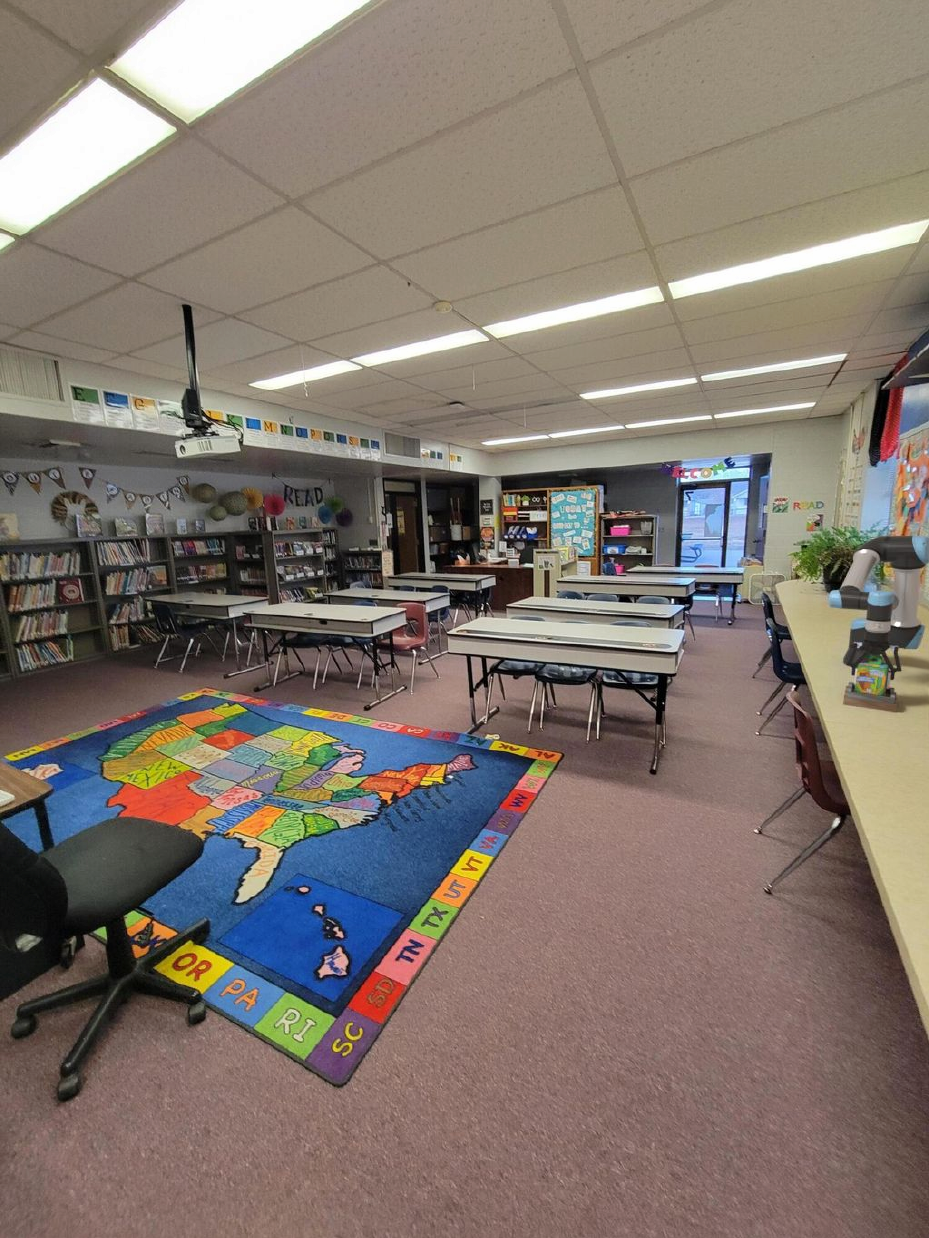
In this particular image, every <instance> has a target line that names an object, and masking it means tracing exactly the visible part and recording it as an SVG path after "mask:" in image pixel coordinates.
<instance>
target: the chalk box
mask: <svg viewBox="0 0 929 1238" xmlns="http://www.w3.org/2000/svg"><path fill="white" fill-rule="evenodd" d="M872 658H876V659H878V661H877V662H876V661H871V659H872ZM883 660H884V658H883V657H882V655H881V656H877V655H867V660H862V661H861V662H860V663H859V665H858V669H857V677H856V684H855V692H859V693H865V694H871V695H877V696H884V694H885V692H886V688H887V678H888V671H890V669H889V667H888V665H887V664H886V662H883Z"/></svg>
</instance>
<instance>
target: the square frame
mask: <svg viewBox="0 0 929 1238" xmlns="http://www.w3.org/2000/svg"><path fill="white" fill-rule="evenodd" d="M842 705H845V706H846V705H847V706H851V707H857V708H858V707H860V708H865V709H871V710H872V709H873V710H878V711H885V712H891V713H897V707H898V697H897V691H895V687H891V686H889V689H888V688H886V692H885V694H884V696H877V695H871V694H865V693H859V692H855V684H854V682H851V681H849V682H848V685H845V690H844V695H843V702H842Z"/></svg>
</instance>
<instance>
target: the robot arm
mask: <svg viewBox="0 0 929 1238" xmlns="http://www.w3.org/2000/svg"><path fill="white" fill-rule="evenodd" d="M852 560H853V562H852V563H851V566H850V568H849V570H848V572H847V574H846V577H844V580H843V581H842V583H841V586H840V588H839V589H836V590H835V589H833V590H831V591H830V592H829V596H828V605H829V607H831V608H835V609H839V610H840V609H843V610H855V611H856V610H859V611H866V617H860V618H855V619H852V621H851V624H850V628H849V629H850V630H849V641H848V642H849V643H848V649H847V650H846V652H845V653H844V656H843V658H842V663H843V664H844V665H845V666H847V667H851V676H853V677H854V679H853V681H854V682H853V683H854V684H856V677H857V669H858V665H859V663H860V662H861V661H862V660H867V655H877V656H882V658H883V660H884V663H886V664H887V665H888V667H889V671H888V678H887V688H888V689H889V687H890V684H891V681H894V680H895V674H896V673H898V672H902V666H901V665H902V664H901V660H900V657H899V649H902V650H903V649H904V650H917V649H919V647H920V645H921V643H922V640H923V637H924V633H925V630H926V625H924V624H922V621H921V620H920V619H919V618H918V606H919V596H920V595H919V594H920V583H921V570H923V569H924V568H925V567H926V565H927V564H929V536H926V535H882V536H878V537H874V538H872V539H869V540H868V541H866V542H865V543H862V544H861V545H860V546H859V547H858V548H857V549H856V550H855V552H854V553H853V555H852ZM879 563H890V568H891V569H892V570H894V574H893V577H894V578H893V590H892V591H893V592H892V591H888V590H873V591H863V590H864V589H865V587H866V584H867V582H868V580H869V578H870V575H871V573H872V572H873V569H874V567H875V566H877V565H878V564H879ZM889 649H890V651H892V652H893V657H894V662H895V666H896V667H894V665H893V663H892V661H891V660H890V658H889V656H888V655H887V652H886V651H888V650H889ZM871 661H876V662H877V661H878V659H876V658H872V659H871Z"/></svg>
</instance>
